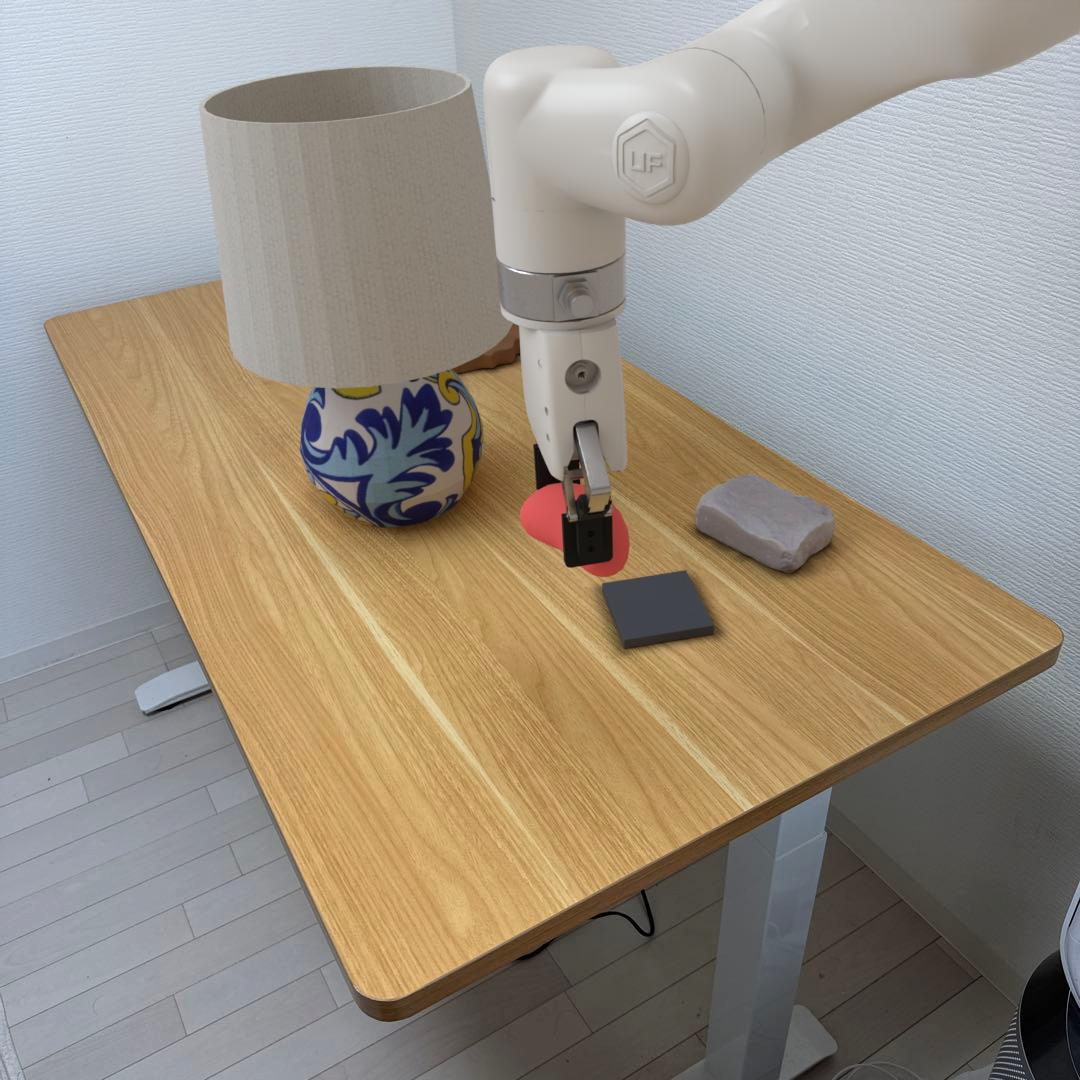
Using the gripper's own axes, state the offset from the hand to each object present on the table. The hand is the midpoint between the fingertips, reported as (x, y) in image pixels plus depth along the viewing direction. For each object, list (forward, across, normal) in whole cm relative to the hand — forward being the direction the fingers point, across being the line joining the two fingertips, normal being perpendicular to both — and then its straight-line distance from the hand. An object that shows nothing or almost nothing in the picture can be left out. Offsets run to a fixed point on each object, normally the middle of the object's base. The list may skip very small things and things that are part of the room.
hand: (572, 523), depth 67 cm
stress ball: (+3, 0, 0) cm, 3 cm away
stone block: (+18, +18, -23) cm, 35 cm away
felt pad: (+18, +9, -9) cm, 22 cm away
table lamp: (+18, +36, +11) cm, 41 cm away
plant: (+17, +72, +1) cm, 74 cm away
